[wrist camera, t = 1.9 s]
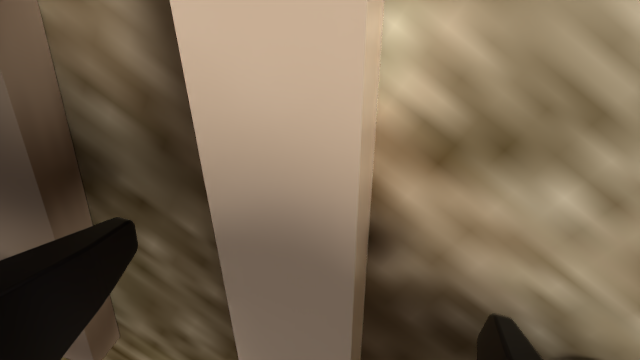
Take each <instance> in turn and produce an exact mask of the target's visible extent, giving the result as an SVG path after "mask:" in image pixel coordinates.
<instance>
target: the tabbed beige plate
mask: <svg viewBox="0 0 640 360" xmlns="http://www.w3.org/2000/svg"><path fill="white" fill-rule="evenodd" d="M91 226H93V225H92V221H91V217H90V213H89V208H88V204H87V200H86V196H85V192H84V188H83V184H82V180H81V176H80V172H79V168H78V164H77V160H76V156H75V151H74V147H73V143H72V139H71V135H70V131H69V127H68V123H67V119H66V115H65V111H64V107H63V103H62V99H61V95H60V90H59V86H58V82H57V78H56V74H55V70H54V66H53V62H52V58H51V54H50V50H49V46H48V42H47V38H46V33H45V29H44V25H43V21H42V17H41V13H40V9H39V5H38V1H37V0H0V260H3V259H5V258H8V257H11V256H13V255H16V254H19V253H21V252H24V251H27V250H29V249H32V248H35V247H38V246H40V245H43V244H46V243H48V242H51V241H54V240H56V239H59V238H62V237H64V236H67V235H70V234H72V233H75V232H78V231H80V230H83V229H86V228H88V227H91ZM119 338H120V335H119V330H118V326H117V322H116V318H115V314H114V310H113V306H112V302H111V298H110V295H109V297H108V298H107V299H106V301H105V302H104V304H103V305H102V307H101V308H100V309H99V311H98V312H97V313H96V315H95V316H94V317H93V318H92V320H91V321H90V322H89V324H88V325H87V326H86V327H85V329H84V330H83V331H82V333H81V334H80V335H79V337H78V338H77V339H76V340H75V342H74V343H73V344H72V346H71V347H70V348H69V349H68V351H67V352H66V353H65V355H64V356H63V357H64V358H67V359H71V360H102V359H103V358H104V357H105V355H106V354H107V353H108V352H109V350H110V349H111V348H112V347H113V345H114V344H115V343H116V341H117V340H118V339H119Z"/></svg>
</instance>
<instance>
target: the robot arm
mask: <svg viewBox="0 0 640 360" xmlns="http://www.w3.org/2000/svg"><path fill="white" fill-rule="evenodd" d="M137 248H138V242H137V236H136V230H135V225H134V223H133V221H131V220H128V219H124V218H120V217H116V218H113V219H110V220H107V221H104V222H102V223H99V224H96V225H94V226H91V227H88V228H86V229H83V230H80V231H78V232H75V233H72V234H70V235H67V236H64V237H62V238H59V239H56V240H54V241H51V242H48V243H46V244H43V245H40V246H38V247H35V248H32V249H29V250H27V251H24V252H21V253H19V254H16V255H13V256H11V257H8V258H5V259H3V260H0V360H61V358H62V357H63V356H64V355H65V353H66V352H67V351H68V349H69V348H70V347H71V346H72V344H73V343H74V342H75V340H76V339H77V338H78V337H79V335H80V334H81V333H82V331H83V330H84V329H85V327H86V326H87V325H88V324H89V322H90V321H91V320H92V318H93V317H94V316H95V315H96V313H97V312H98V311H99V309H100V308H101V307H102V305H103V304H104V302H105V301H106V299H107V298H108V297H109V295H110V293H111V292H112V290H113V289H114V287H115V285H116V284H117V282H118V281H119V279H120V277H121V276H122V274H123V273H124V271H125V270H126V268H127V266H128V265H129V263H130V262H131V260H132V258H133V257H134V255H135V253H136V251H137ZM477 360H543V359H542V358H541V356H540V355H539V354H538V352H537V351H536V350H535V348H534V347H533V346H532V345H531V343H530V342H529V341H528V339H527V338H526V337H525V335H524V334H523V333H522V331H521V330H520V329H519V328H518V326H517V325H516V324H515V322H514V321H513V320H512V319H511V318H509V317H507V316H503V315H499V314H495V313H493V314H491V315H490V316H489V317H488V319H487V321H486V322H485V324H484V326H483V328H482V330H481V332H480V333H479V335H478V339H477Z"/></svg>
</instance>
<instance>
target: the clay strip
mask: <svg viewBox="0 0 640 360" xmlns="http://www.w3.org/2000/svg"><path fill="white" fill-rule="evenodd" d="M170 5H171V10H172V15H173V20H174V26H175V31H176V36H177V41H178V46H179V52H180V57H181V62H182V67H183V72H184V78H185V83H186V88H187V93H188V98H189V104H190V109H191V114H192V119H193V124H194V130H195V135H196V140H197V145H198V150H199V156H200V161H201V166H202V171H203V177H204V182H205V187H206V192H207V197H208V203H209V208H210V213H211V218H212V223H213V229H214V234H215V239H216V244H217V249H218V255H219V260H220V265H221V270H222V275H223V281H224V286H225V291H226V296H227V301H228V307H229V312H230V317H231V322H232V327H233V333H234V338H235V343H236V348H237V354H238V359H239V360H361V345H362V330H363V315H364V300H365V285H366V270H367V254H368V239H369V224H370V209H371V194H372V179H373V164H374V149H375V134H376V119H377V104H378V89H379V73H380V58H381V43H382V28H383V13H384V0H170Z"/></svg>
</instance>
